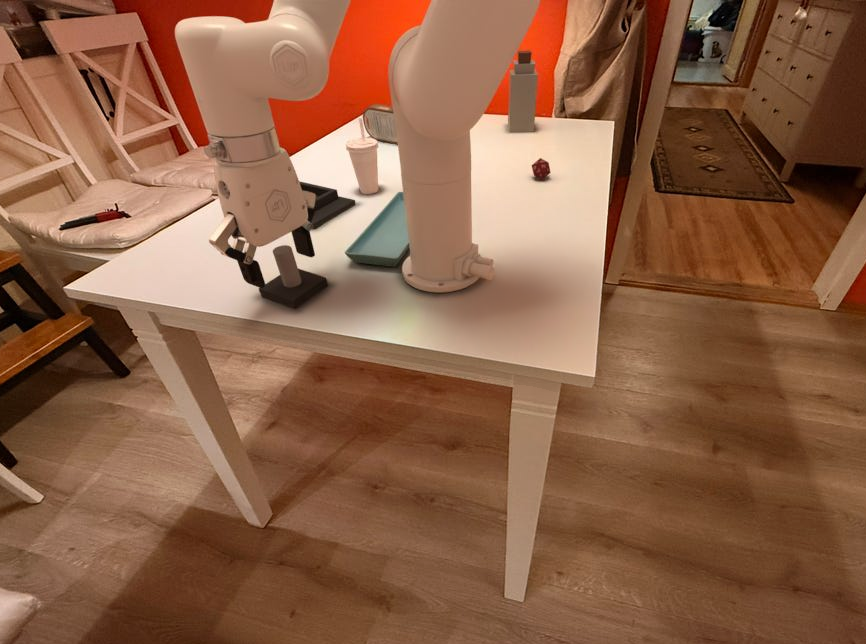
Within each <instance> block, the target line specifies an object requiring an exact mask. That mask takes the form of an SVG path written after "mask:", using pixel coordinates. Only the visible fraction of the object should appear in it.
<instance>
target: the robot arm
mask: <svg viewBox="0 0 866 644" xmlns="http://www.w3.org/2000/svg"><path fill="white" fill-rule="evenodd" d="M351 1H352V0H273V3H272V6H271V9H270V13H269V16H268V17H267V19H265V20H261V21H254V22H247V23H246V22H245V21H243V20H241V19H239V18H236V17H231V16H220V15H219V16H217V15H211V16H209V15H208V16H196V17H194V16H193V17H188V18H184V19H182V20H179V21H178V22H177V24H176V25H175V28H174V39H175V42H176V45H177V48H178V51H179V53H180V57H181V59H182V62H183V65H184V68H185V71H186V75H187V77H188V78H187V79H188V81H189V83H190V86H191V89H192V92H193V95H194V98H195V102H196V103H197V106H198V110H199V112H200V115H201V119H202V121H203V124H204V127H205V130H206V133H207V138H208V142H209V143H208V145H205V146H204V147H203V152H204V154H205V156H206V157H207V158H208V159H214V158H215V160H216V161H214V162H213V173H214V180H215V186H216V191H217V195H218V200H219V203H220V207H221V211H222V215H223V217H224V218H223V220H222V221H221V222H220V223H219V225H218V226H217V227H216V229H215V230H214V231H213V233H212V234H211V235H210V237H209V238H208V243H209V244H210V245H211V246H212V247H213V248H215V249H216V250H217V251H218V252H220V254H221V255H223V256H225V257H228V258H230V259H232V260H235V261H237V265H238V268H239V271H240V272H241V275H242V278H243V281H245V283H247V284H249V285H251V286H254V287H257V288H258V289H259V288H263V287H265V284H266V282H265V278H264V275H263V273H262V269H261V265H260V264H259V261H258V260H256V259H254V258H255V255H256V251H257V247H259V248H260V247H264V246H268V245H269V244H271V243H273V242H275V241H277V240H279V239H280V238H282V237H284V236H287V235H288V234H290V233H291V236H292V240H293V243H294V248H295V251H296V253H297V254H300V255H301V256H305V257H308V258H314V257H315V256H316V253H315V248H314V244H313V240H312V236H311V231H312V229H313V228H312V227H313V226H312V223H311V222H312V219H313V216H314V214H315V210H314V209H313V208H314V206H315V199H316V195H315V193H312V192H308V191H303V190H302V189H301V186H300V183H299V181H300V180H299V177H298V174H297V171H296V169H295V167H294V164H293V162H292V160H291V158H290V155H289V154H288V152H287V150H286V149H285V148H283V147H281V146H280V142H279V138H278V134H277V130H276V126H275V121H274V119H273V114H272V113H273V112H272V110H271V106H270V101H269V99H273V100H274V99H276V100H281V101H291V102H301V101H307V100H311V99H314V98H315V97H316V96H319V94H320V93H321V92H322V91H323V90H324V88H325V86H326V85H327V82H328V79H329V75H330V59H331V56H332V53H333V50H334V47H335V44H336V42H337V39H338V36H339V33H340V30H341V28H342V24H343V22H344V19H345V17H346V14H347V11H348V9H349V6H350V4H351ZM540 3H541V0H431V1H430V3H429V5H428V8H427V10H426V13H425V15H424V18H423V20H422V21H421V25H417V26H414V27H411V28H410V29H408V30H407V31H405V32H404V33H403V34H401V36H400V37H399V38H398V40H397V41H396V42H395V44H394V46H393V48H392V51H391V53H390V57H389V63H388V72H387V73H388V75H387V76H388V86H389V94H390V101H391V107H393V114H394V120H395V127H396V134H397V142H398V144H397V149H398V157H399V165H400V177H401V185H402V192H403V195H404V204H405V213H406V221H407V230H408V239H409V248H408V249H409V256H407V258H405V259H404V261H403V263H402V265H401V272H402V277H403V279H404V281H405V282H406V283H407V284H408V285H409V286H412V287H413V288H415V289H417V290H420V291H424V292H427V293H428V292H429V293H450V292H451V293H452V292H455V291H456V292H457V291H460V290H462V289H465V288H468V287H470V286H471V285H473V284H475V283H476V282H477V281H478V280H479V279H480V278H481V279H486V280H489V281H490V280H492V279H493V277H494V275H495V267H494V265H495V264H494V259H493V258H491V257H485V256H481V254H480V253H479V244H478V243H474V242H473V214H472V213H473V212H472V209H473V207H472V205H473V204H472V141H471V130H472V129H473V128H474V127H475V126H476V125H477V123H478V122H479V121H480V120H481V118H482V117H483V115H484V114H485V112H486V111H487V109H488V107H489V105H490V104H491V102H492V100H493V98H494V96H495V94H496V93H497V91H498V88H499V87H500V85H501V83H502V81H503V79H504V77H505V75H506V74H507V71H508V70H509V67H510V66H511V64H512V63H513V60H514V58H515V56H516V54H517V53H518V51H519V49H520V47H521V45H522V43H523V41H524V39H525V37H526V35H527V32H528V31H529V29H530V27H531V25H532V23H533V21H534V18H535V17H536V14H537V13H538V9H539V6H540ZM231 237H232V239H234V241H233V245H231V244H230V243H229V239H230V238H231Z"/></svg>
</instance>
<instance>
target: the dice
mask: <svg viewBox="0 0 866 644" xmlns="http://www.w3.org/2000/svg"><path fill="white" fill-rule="evenodd" d="M531 169H532V174H533V176H534V177H536V178H538V179H539V180H541V181H543V180H544V179H545V178H546V177H547V176H549V175H551V169H550V163H549V161H547V160H545V159H544V158H541V157H539V158H538V160H536V161H535V162H534V163H532V164H531Z"/></svg>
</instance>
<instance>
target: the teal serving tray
mask: <svg viewBox="0 0 866 644" xmlns="http://www.w3.org/2000/svg"><path fill="white" fill-rule="evenodd" d="M409 249H410V248H409V239H408V230H407V221H406V213H405V204H404V195H403V191H398V192H397V193H396V194H395V195H394V196H393V198H391V200H390V201H389V202H388V203H387V204H386V205H385V206H384V208H383V209H382V210H381V211H380V212H379V213H378V214H377V216H376V217H375V218H374V219H373V220H372V221H371V222H370V223H369V225H368V226H367V227H366V228H365V229H364V230H363V231H362V232H361V233H360V234H359V235H358V236H357V238H356V239H355V240H354V241H353V242H352V243H351V244H350V245H349V247H347V249H346V250H345V251H344V254H345V255H346V257H347V258H349V259H350V260H351V261H352V262H353V263H355V264H357V263H358V264H366V265H376V266H386V267H397V265H398V263H400V261H401V259H402V258H403V256H404V255H405V254H406V253H407V251H408V250H409Z"/></svg>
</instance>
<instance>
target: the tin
mask: <svg viewBox="0 0 866 644" xmlns="http://www.w3.org/2000/svg"><path fill="white" fill-rule="evenodd" d="M362 123H363V127H364V129H365V131H366V133H367V134H368V135H369V136H370V138H372V139H375V140H377V141H379V142H386V143H391V144H393V145H394V144H395V145H398V142H397V134H396V127H395V120H394V114H393V107H392V105H391V106H390V105H385V104H378V103H373V104H371V105H370V106H368V107H366V108H365V110H364V111H363V113H362Z"/></svg>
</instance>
